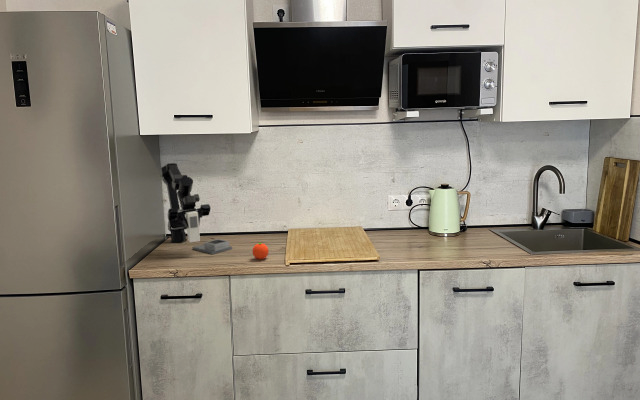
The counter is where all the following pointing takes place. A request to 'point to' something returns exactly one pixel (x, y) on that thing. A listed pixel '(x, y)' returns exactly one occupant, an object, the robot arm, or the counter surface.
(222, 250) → the dock
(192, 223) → the white handset
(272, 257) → the counter surface
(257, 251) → the clementine
